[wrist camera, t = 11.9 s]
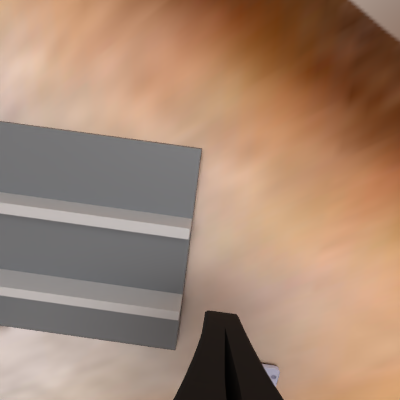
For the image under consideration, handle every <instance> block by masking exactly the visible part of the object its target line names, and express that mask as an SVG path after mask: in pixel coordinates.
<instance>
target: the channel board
mask: <svg viewBox="0 0 400 400" xmlns="http://www.w3.org/2000/svg"><path fill="white" fill-rule="evenodd" d="M201 151H202V148H195V147H187V146H180V145H173V144H165V143H158V142H151V141H143V140H136V139H128V138H121V137H114V136H106V135H99V134H92V133H84V132H77V131H70V130H62V129H55V128H48V127H40V126H33V125H25V124H18V123H11V122H3V121H0V325H1V326H8V327H15V328H22V329H29V330H36V331H43V332H50V333H57V334H64V335H71V336H78V337H85V338H92V339H99V340H106V341H113V342H120V343H127V344H134V345H141V346H148V347H155V348H163V349H170V350H175V349H176V343H177V336H178V329H179V321H180V313H181V305H182V298H183V290H184V282H185V275H186V267H187V259H188V251H189V244H190V236H191V228H192V221H193V213H194V205H195V197H196V190H197V182H198V174H199V167H200V159H201Z"/></svg>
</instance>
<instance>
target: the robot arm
mask: <svg viewBox="0 0 400 400" xmlns="http://www.w3.org/2000/svg"><path fill="white" fill-rule="evenodd" d="M279 374H280V371H279V368H278V367H277V366H274V365H267V364H262V363H261V362H260V360H259V358H258V356H257V354H256V352H255V351H254V349H253V347H252V345H251V343H250V341H249V339H248V337H247V335H246V333H245V331H244V328H243V326H242V324H241V322H240V319H239V317H238V316H237V314H230V313H223V312H216V311H207V312H205V317H204V323H203V329H202V334H201V338H200V340H199V343H198V346H197V349H196V352H195V354H194V357H193V359H192V361H191V364H190V366H189V368H188V371H187V373H186V375H185V377H184V379H183V382H182V384H181V386H180V388H179V390H178V392H177V394H176V396H175V397H174V399H173V400H283V398H282V396H281V395H280V393H279V392H278V390H277V389H276V384H277V381H278V378H279Z"/></svg>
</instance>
